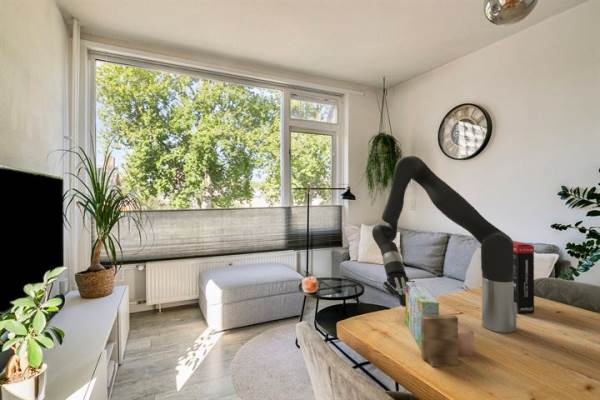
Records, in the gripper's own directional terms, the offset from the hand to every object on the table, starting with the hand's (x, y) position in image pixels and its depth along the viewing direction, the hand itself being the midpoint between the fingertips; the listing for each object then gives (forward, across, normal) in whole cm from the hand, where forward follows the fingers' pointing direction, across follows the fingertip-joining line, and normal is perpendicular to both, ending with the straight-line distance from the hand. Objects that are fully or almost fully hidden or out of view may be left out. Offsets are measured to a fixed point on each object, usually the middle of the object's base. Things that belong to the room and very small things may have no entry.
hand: (405, 305), depth 111 cm
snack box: (+12, +1, -4) cm, 13 cm away
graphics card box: (-3, +49, +12) cm, 50 cm away
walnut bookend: (+23, 0, -15) cm, 27 cm away
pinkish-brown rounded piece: (+19, +9, -11) cm, 24 cm away
